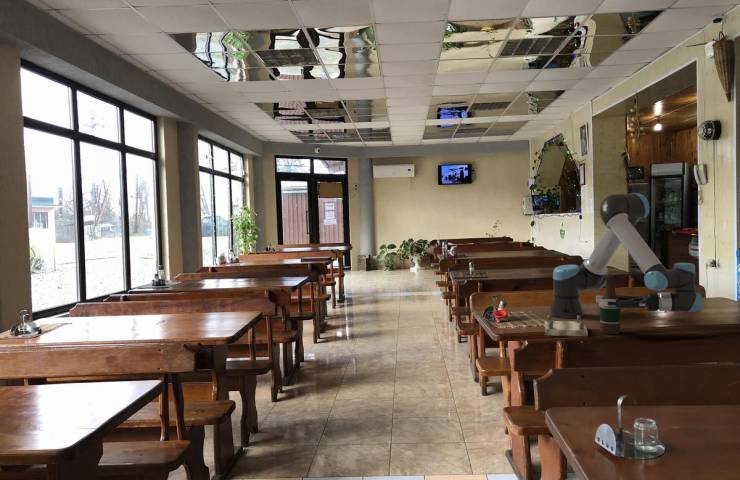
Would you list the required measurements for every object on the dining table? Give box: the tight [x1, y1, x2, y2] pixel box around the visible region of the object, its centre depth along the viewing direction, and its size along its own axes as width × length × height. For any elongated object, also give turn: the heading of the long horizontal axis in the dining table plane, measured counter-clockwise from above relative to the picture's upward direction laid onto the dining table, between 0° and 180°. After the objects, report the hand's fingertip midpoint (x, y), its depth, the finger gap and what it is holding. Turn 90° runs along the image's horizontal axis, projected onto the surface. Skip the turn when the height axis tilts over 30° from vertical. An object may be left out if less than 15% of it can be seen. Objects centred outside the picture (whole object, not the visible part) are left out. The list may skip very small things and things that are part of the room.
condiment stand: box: [544, 314, 588, 337], centre depth 244 cm, size 16×16×6 cm
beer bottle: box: [599, 273, 621, 335], centre depth 239 cm, size 8×8×24 cm
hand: (597, 301), depth 240 cm, fingers closed on beer bottle, 7 cm apart
